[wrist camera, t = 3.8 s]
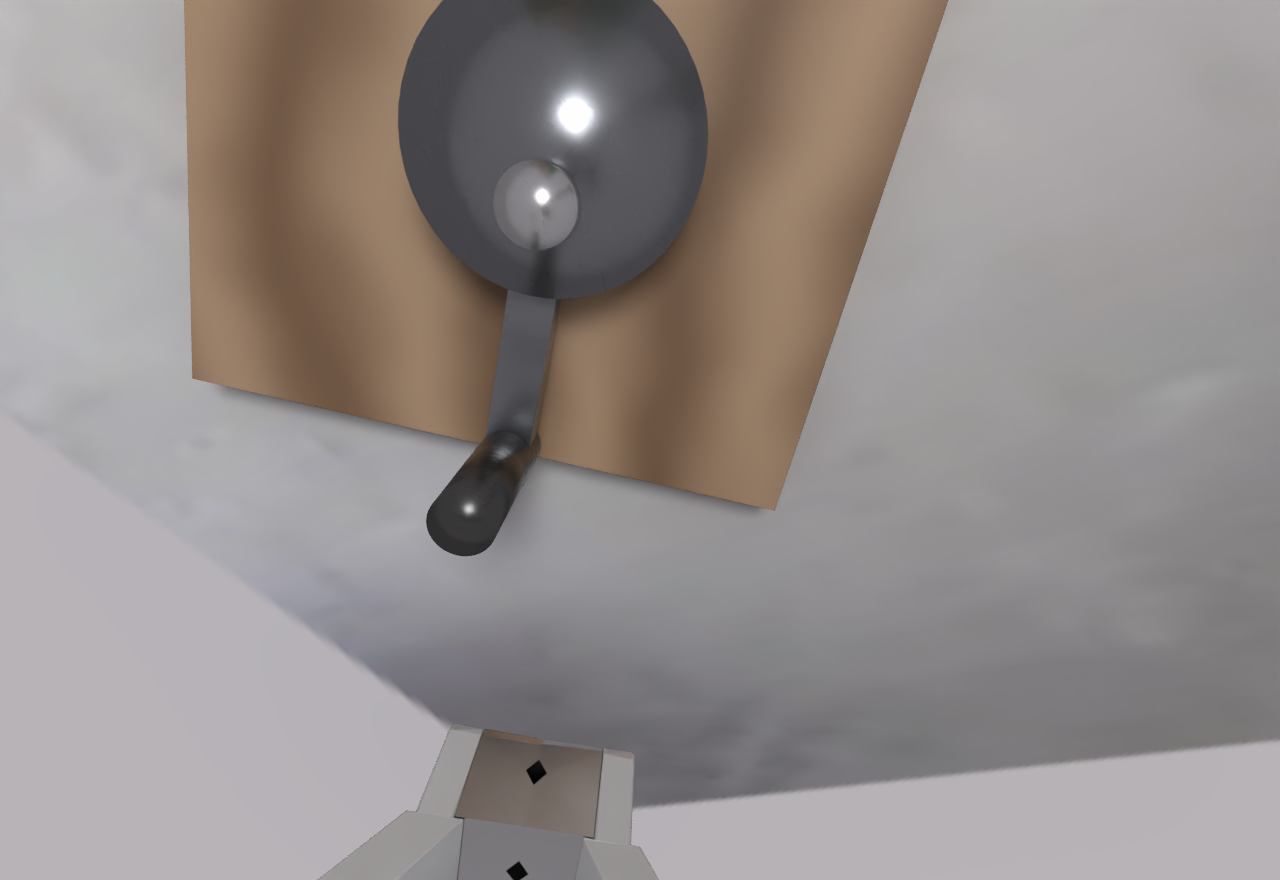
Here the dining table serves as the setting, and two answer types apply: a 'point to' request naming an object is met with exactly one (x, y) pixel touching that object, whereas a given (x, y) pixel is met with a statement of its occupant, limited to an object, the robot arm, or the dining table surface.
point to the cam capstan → (544, 188)
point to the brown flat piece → (474, 307)
